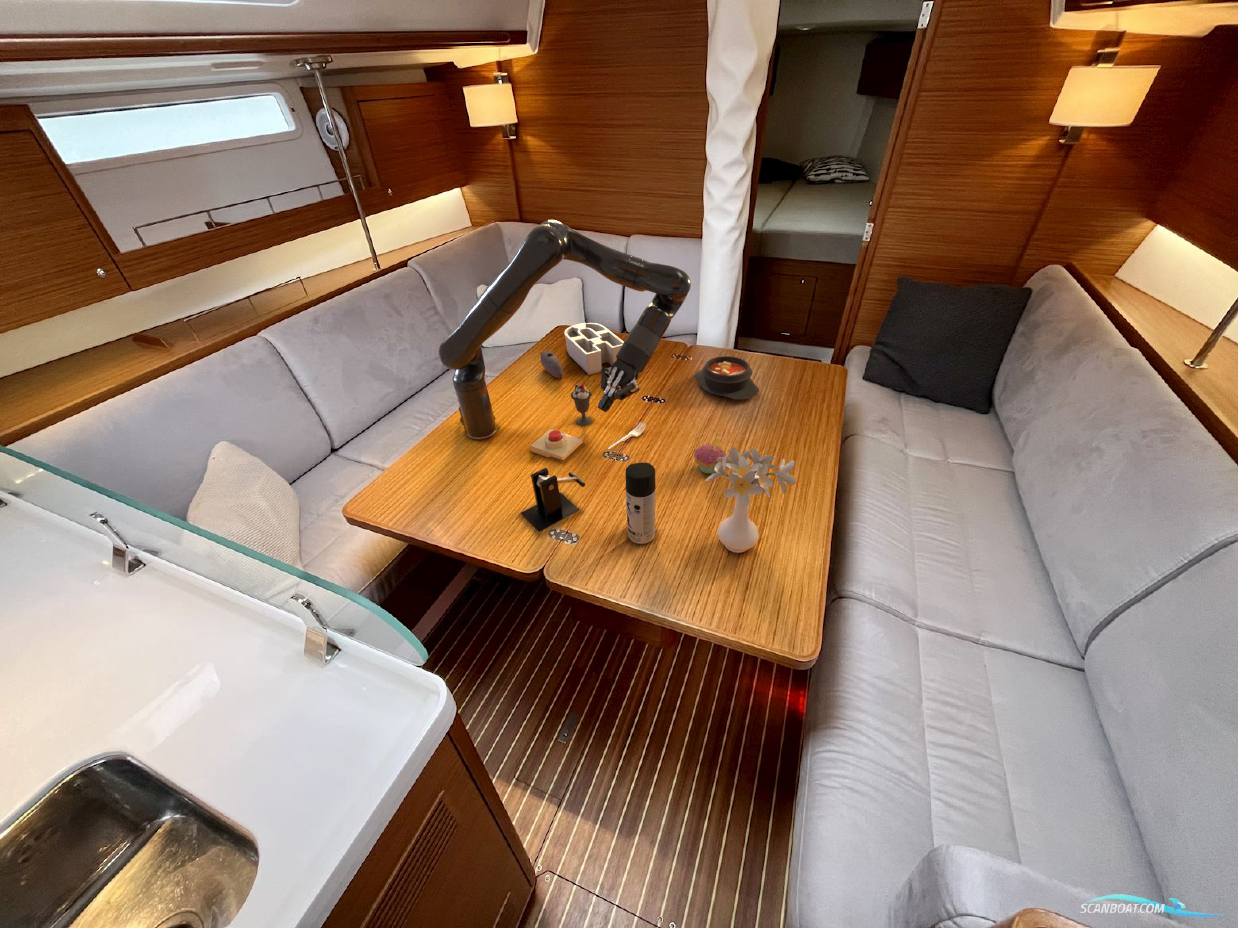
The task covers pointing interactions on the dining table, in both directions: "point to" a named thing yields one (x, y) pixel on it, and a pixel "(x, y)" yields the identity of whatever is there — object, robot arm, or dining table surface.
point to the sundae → (582, 403)
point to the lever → (562, 479)
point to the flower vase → (746, 494)
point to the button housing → (555, 445)
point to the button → (555, 436)
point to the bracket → (548, 503)
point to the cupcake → (708, 456)
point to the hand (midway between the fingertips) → (601, 410)
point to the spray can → (640, 502)
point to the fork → (631, 434)
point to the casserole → (727, 378)
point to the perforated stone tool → (551, 364)
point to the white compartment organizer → (592, 345)
